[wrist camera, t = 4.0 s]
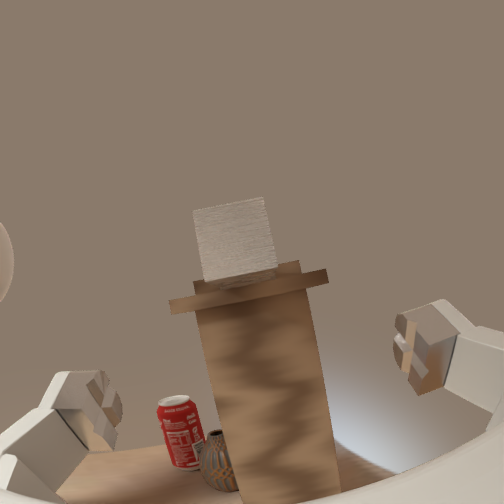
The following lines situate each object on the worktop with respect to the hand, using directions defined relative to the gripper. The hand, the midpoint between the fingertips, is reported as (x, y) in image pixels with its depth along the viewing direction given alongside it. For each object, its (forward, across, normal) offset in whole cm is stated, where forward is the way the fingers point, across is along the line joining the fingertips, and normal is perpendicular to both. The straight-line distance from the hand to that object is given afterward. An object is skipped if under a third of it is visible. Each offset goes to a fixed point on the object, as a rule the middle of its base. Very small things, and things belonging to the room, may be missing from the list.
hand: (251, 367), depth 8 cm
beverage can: (+22, +15, +40) cm, 48 cm away
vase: (+15, +8, +36) cm, 40 cm away
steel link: (+13, 0, +4) cm, 14 cm away
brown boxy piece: (+5, 0, +30) cm, 30 cm away
